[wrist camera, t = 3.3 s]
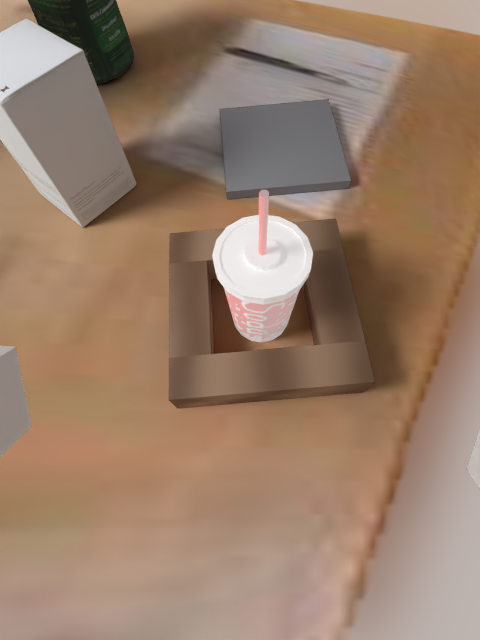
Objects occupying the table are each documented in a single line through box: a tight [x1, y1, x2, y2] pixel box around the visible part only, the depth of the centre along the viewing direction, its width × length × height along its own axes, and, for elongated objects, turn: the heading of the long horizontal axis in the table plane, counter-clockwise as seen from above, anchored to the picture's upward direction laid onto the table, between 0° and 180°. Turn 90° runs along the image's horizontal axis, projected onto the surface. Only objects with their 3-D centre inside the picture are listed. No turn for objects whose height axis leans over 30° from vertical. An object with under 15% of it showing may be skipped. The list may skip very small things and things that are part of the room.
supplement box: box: [0, 19, 136, 227], centre depth 31 cm, size 7×7×13 cm
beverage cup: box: [212, 190, 313, 342], centre depth 24 cm, size 6×6×14 cm
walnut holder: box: [169, 219, 375, 408], centre depth 29 cm, size 14×14×3 cm
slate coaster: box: [220, 99, 351, 199], centre depth 37 cm, size 12×12×1 cm
